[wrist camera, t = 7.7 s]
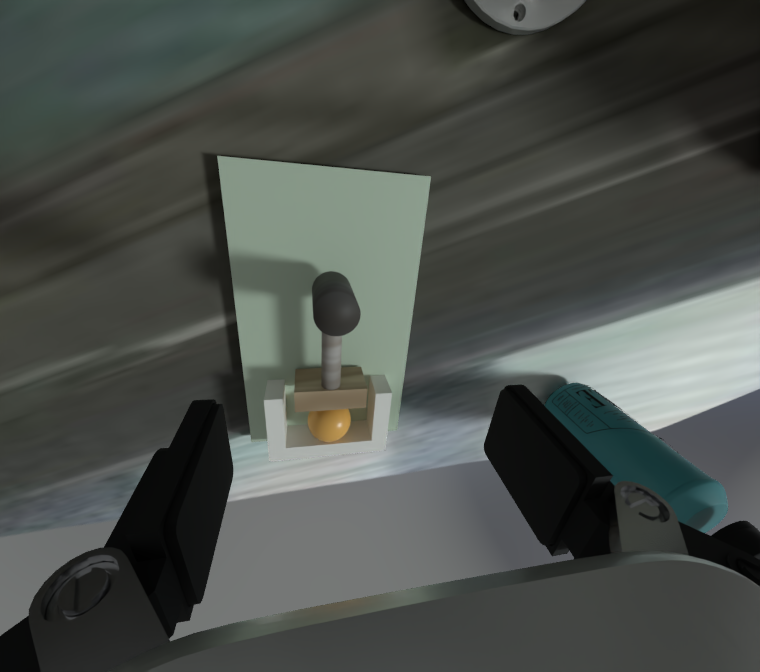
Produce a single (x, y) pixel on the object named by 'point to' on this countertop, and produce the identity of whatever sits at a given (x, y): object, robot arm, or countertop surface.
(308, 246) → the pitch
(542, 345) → the countertop surface
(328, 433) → the ball
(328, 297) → the rod
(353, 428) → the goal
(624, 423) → the beverage bottle
